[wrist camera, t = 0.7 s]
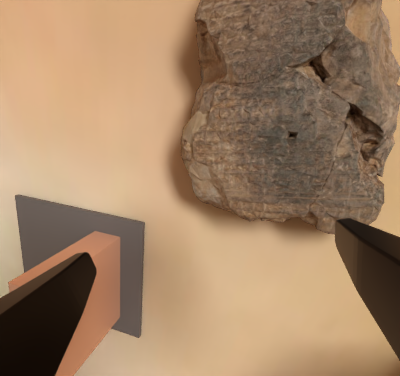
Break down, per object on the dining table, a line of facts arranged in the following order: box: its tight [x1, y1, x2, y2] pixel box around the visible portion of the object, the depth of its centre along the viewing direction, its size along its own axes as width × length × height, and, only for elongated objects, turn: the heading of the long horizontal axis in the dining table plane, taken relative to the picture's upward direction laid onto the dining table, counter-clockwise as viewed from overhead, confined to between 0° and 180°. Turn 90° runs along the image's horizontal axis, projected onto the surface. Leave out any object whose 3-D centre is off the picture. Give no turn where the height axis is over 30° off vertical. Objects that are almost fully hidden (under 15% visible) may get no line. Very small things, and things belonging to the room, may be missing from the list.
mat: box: [15, 195, 145, 338], centre depth 28 cm, size 16×14×1 cm
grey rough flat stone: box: [181, 0, 400, 234], centre depth 16 cm, size 14×5×20 cm
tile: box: [8, 231, 120, 376], centre depth 22 cm, size 3×10×9 cm, turn 174°
